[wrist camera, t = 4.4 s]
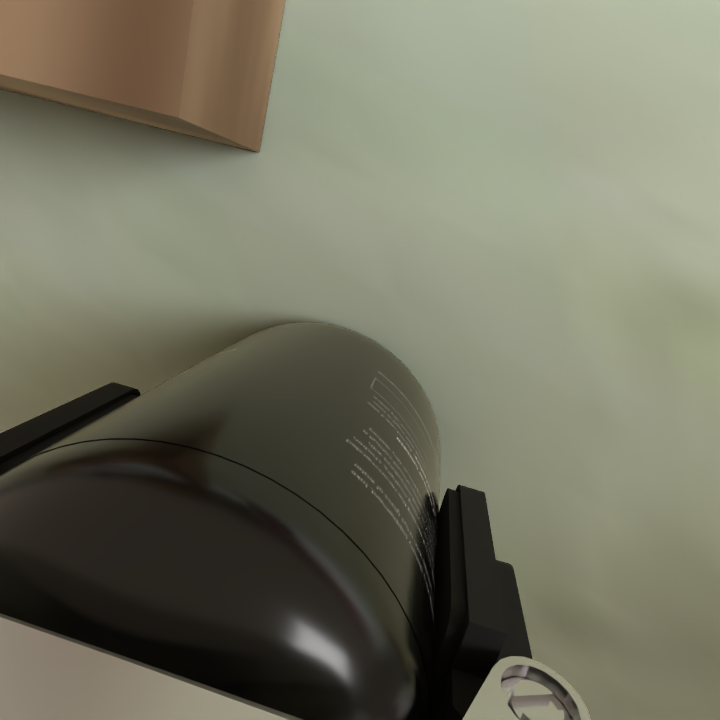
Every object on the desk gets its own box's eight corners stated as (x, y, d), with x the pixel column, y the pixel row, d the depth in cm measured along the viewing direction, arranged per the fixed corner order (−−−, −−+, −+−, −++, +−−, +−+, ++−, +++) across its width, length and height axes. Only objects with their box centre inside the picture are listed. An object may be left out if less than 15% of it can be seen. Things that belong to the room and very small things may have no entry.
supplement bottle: (207, 300, 14) (-1053, 666, 2) (460, 338, 13) (613, 1265, 1) (197, 521, 15) (-512, 1359, 4) (419, 567, 15) (332, 1792, 3)
